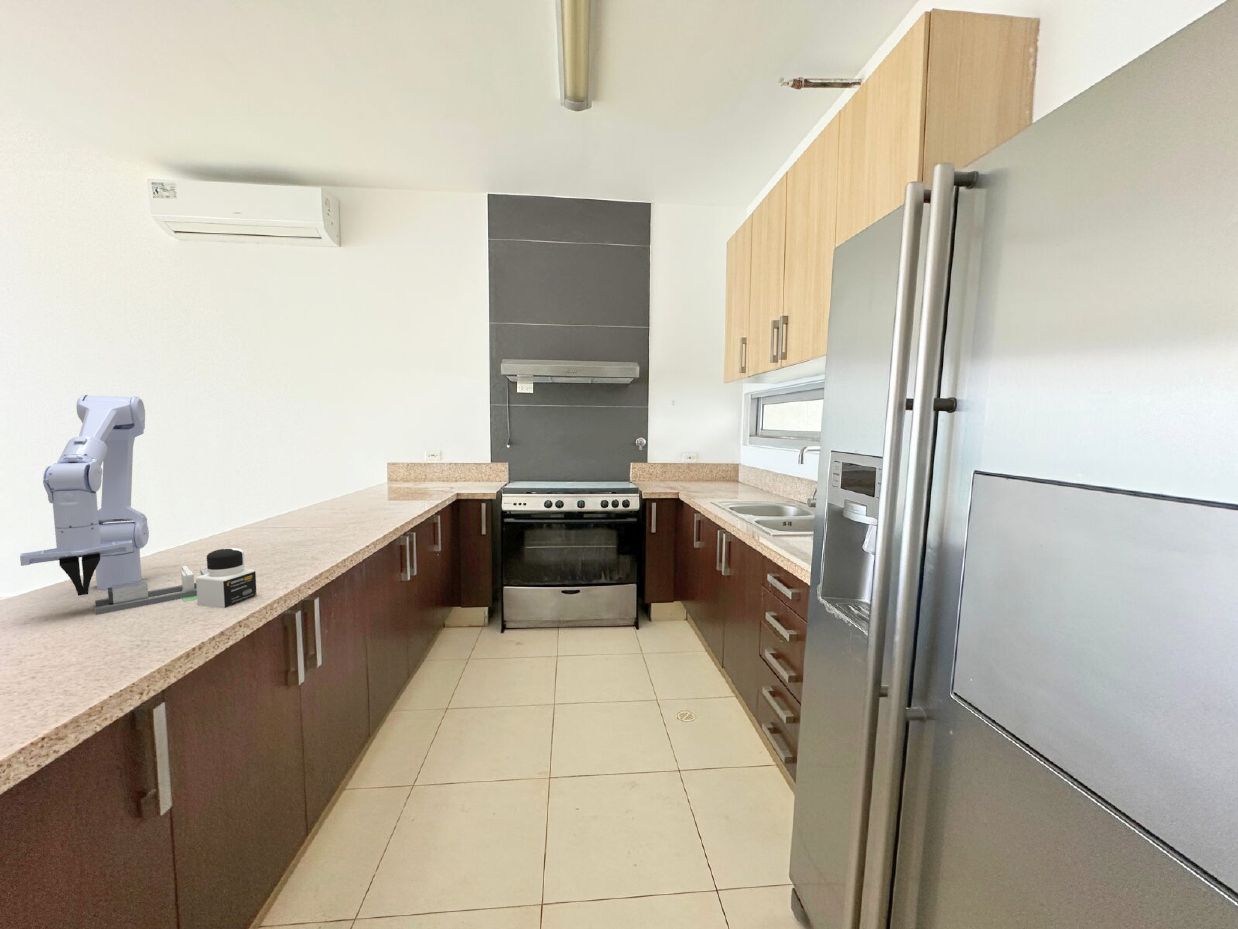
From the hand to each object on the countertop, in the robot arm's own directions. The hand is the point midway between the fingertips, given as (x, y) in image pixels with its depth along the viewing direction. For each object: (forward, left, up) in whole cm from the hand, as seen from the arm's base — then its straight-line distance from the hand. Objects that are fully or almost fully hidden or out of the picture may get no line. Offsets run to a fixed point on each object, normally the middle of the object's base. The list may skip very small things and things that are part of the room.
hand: (83, 593), depth 96 cm
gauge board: (0, +10, -5) cm, 12 cm away
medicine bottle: (+11, +20, -5) cm, 24 cm away
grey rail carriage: (0, +6, -4) cm, 7 cm away
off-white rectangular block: (0, +15, -4) cm, 16 cm away
